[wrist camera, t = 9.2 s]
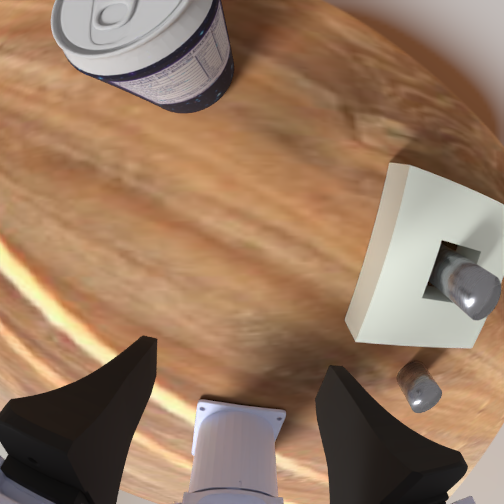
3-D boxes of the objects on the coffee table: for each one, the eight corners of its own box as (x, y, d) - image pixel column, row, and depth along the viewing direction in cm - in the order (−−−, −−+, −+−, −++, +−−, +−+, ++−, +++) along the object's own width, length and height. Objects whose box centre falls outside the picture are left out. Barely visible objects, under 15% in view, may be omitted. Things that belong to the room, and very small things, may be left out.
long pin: (440, 279, 21) (489, 321, 15) (412, 275, 21) (460, 319, 15) (451, 244, 21) (506, 277, 14) (423, 238, 20) (478, 272, 14)
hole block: (455, 331, 23) (471, 348, 20) (344, 320, 22) (355, 341, 20) (499, 206, 19) (522, 213, 17) (389, 162, 19) (409, 164, 16)
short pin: (415, 385, 25) (431, 411, 21) (391, 385, 25) (406, 413, 21) (428, 361, 24) (447, 387, 20) (404, 360, 24) (422, 388, 20)
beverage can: (239, 37, 16) (225, -79, 5) (230, 117, 18) (197, 64, 7) (155, 37, 16) (67, -52, 5) (144, 114, 18) (26, 83, 6)
